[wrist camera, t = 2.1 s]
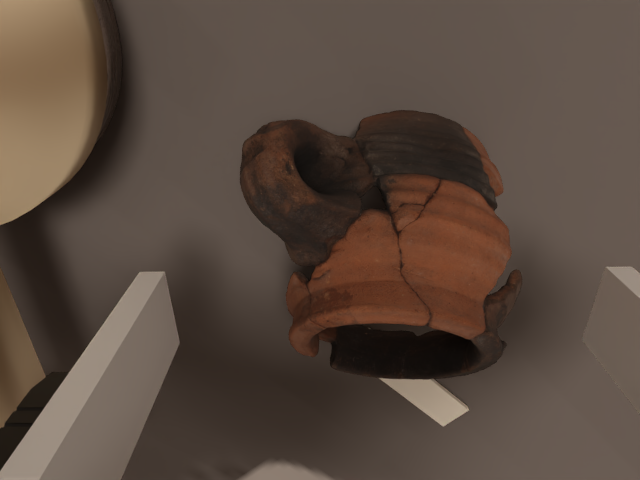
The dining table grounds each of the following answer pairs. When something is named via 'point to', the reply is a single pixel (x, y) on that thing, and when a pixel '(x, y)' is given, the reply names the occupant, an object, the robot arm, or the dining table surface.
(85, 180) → the dining table surface
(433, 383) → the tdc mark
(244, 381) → the dining table surface
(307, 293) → the pottery mug
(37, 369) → the crank
